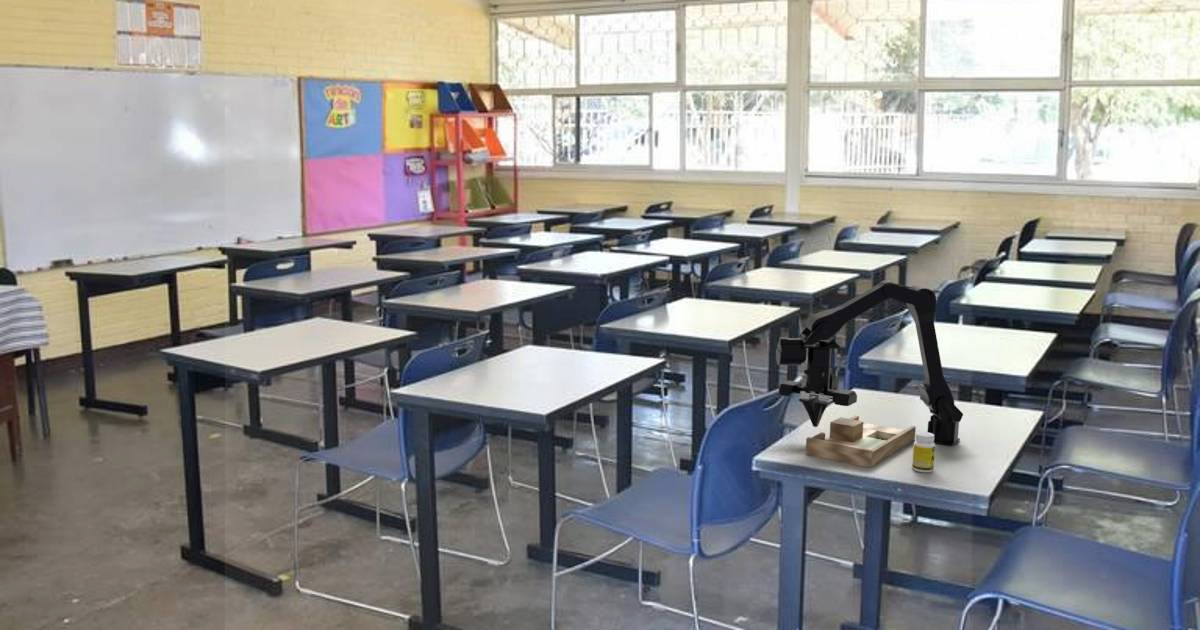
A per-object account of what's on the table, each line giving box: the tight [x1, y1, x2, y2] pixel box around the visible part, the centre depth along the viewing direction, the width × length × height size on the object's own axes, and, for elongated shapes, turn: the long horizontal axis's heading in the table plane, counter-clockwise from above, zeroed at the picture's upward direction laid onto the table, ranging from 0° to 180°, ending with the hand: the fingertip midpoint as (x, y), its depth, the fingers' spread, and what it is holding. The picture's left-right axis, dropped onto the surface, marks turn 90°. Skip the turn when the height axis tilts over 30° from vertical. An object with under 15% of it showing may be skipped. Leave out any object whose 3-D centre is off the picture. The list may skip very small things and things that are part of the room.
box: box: [805, 415, 916, 468], centre depth 253 cm, size 16×29×4 cm, turn 143°
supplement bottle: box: [911, 431, 936, 473], centre depth 236 cm, size 5×5×8 cm
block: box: [829, 417, 864, 443], centre depth 254 cm, size 6×6×4 cm
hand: (815, 426), depth 258 cm, fingers closed
